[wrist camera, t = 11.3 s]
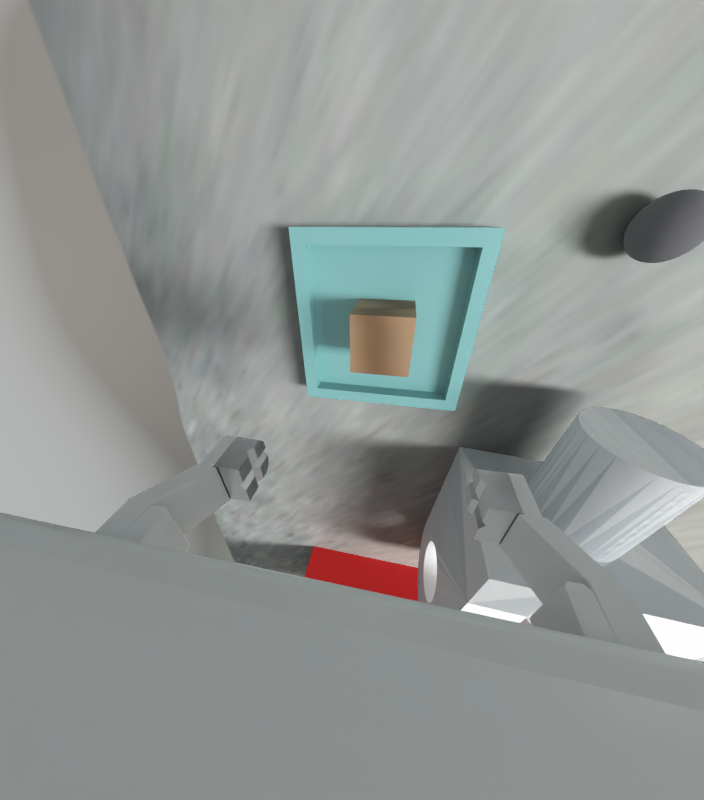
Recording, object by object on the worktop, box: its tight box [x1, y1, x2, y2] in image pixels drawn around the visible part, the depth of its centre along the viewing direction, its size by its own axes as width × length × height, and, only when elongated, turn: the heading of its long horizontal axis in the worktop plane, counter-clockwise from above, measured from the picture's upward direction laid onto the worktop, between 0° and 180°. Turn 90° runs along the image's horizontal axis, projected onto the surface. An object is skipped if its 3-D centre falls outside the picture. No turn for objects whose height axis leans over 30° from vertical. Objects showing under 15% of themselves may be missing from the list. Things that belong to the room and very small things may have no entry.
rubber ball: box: [623, 190, 704, 263], centre depth 17 cm, size 4×4×4 cm
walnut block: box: [350, 298, 416, 377], centre depth 23 cm, size 5×5×5 cm
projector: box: [418, 407, 704, 660], centre depth 30 cm, size 35×19×15 cm, turn 175°
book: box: [305, 546, 418, 601], centre depth 42 cm, size 27×8×32 cm, turn 87°
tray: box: [288, 226, 506, 411], centre depth 25 cm, size 16×16×2 cm
